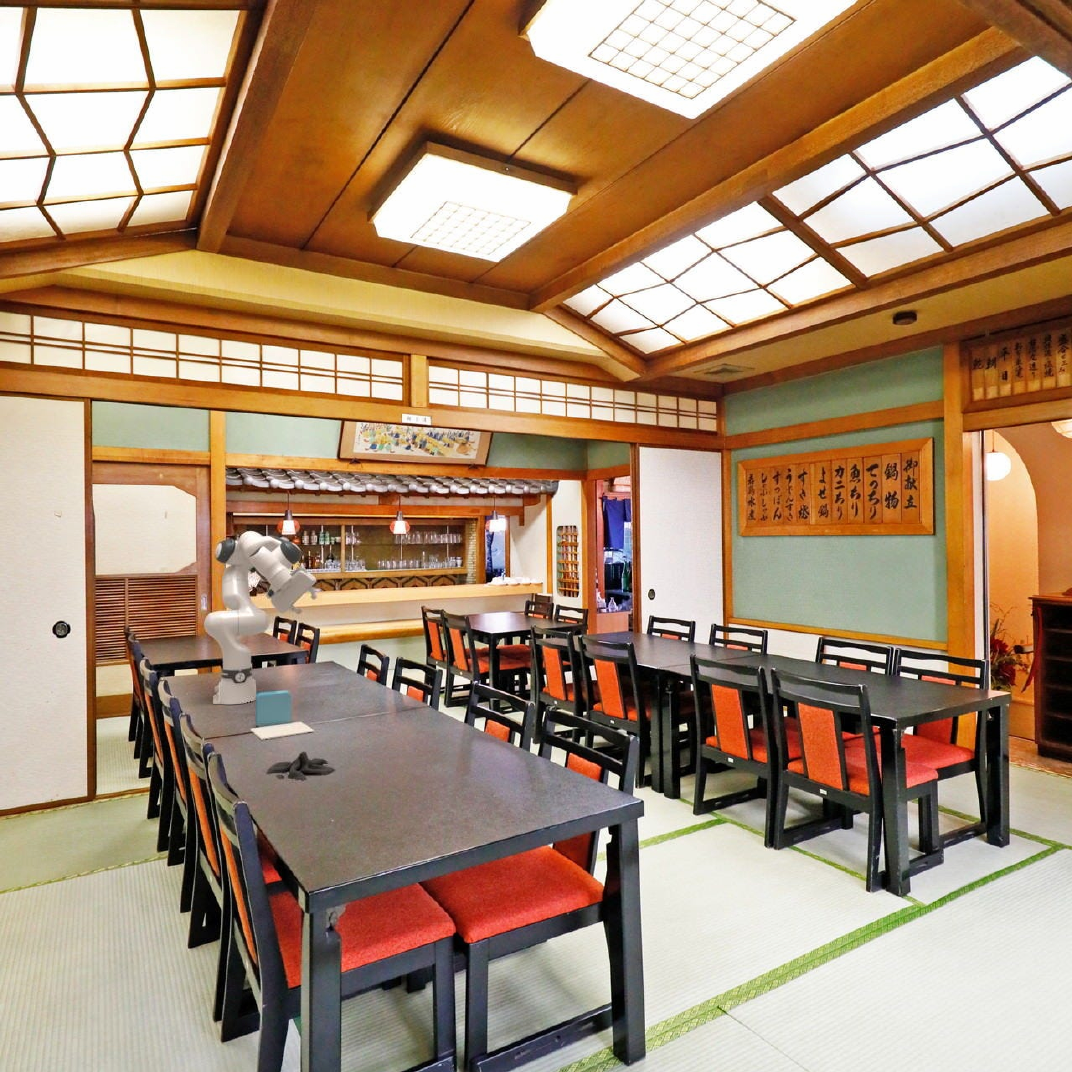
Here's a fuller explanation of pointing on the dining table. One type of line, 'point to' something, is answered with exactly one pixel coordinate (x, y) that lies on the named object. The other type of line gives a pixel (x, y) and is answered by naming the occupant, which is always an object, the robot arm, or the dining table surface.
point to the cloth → (301, 767)
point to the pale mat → (281, 730)
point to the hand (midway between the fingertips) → (308, 605)
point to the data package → (273, 708)
